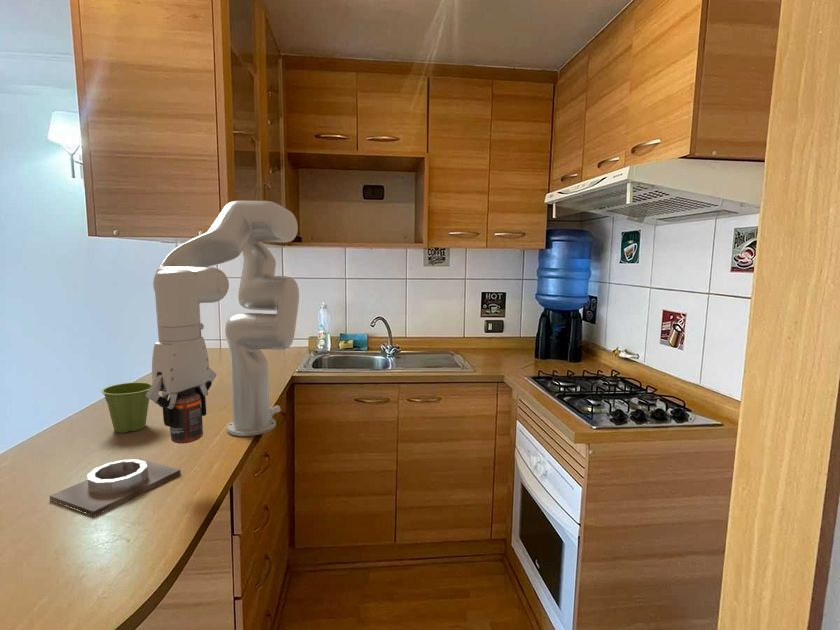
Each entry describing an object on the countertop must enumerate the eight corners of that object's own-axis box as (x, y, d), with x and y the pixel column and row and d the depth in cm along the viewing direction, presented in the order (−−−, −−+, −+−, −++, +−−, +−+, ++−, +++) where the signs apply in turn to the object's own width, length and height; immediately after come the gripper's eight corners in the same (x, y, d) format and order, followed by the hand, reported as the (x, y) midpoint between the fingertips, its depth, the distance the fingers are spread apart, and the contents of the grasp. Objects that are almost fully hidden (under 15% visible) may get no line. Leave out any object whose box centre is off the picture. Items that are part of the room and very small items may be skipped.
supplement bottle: (208, 432, 97) (205, 380, 96) (195, 445, 91) (192, 390, 90) (179, 432, 97) (175, 380, 95) (165, 444, 91) (160, 389, 89)
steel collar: (126, 466, 100) (125, 455, 100) (158, 476, 96) (157, 464, 96) (76, 487, 91) (75, 475, 91) (110, 499, 87) (109, 486, 87)
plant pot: (145, 435, 120) (142, 393, 118) (95, 437, 118) (91, 394, 117) (162, 419, 132) (160, 381, 130) (117, 421, 130) (114, 382, 128)
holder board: (139, 462, 105) (139, 458, 104) (180, 474, 100) (180, 469, 99) (49, 500, 88) (49, 495, 88) (93, 516, 83) (93, 511, 83)
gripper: (202, 324, 100) (207, 403, 103) (124, 339, 84) (132, 432, 87) (228, 327, 97) (232, 409, 100) (153, 343, 81) (160, 440, 84)
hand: (186, 419), depth 94 cm, fingers closed on supplement bottle, 6 cm apart
